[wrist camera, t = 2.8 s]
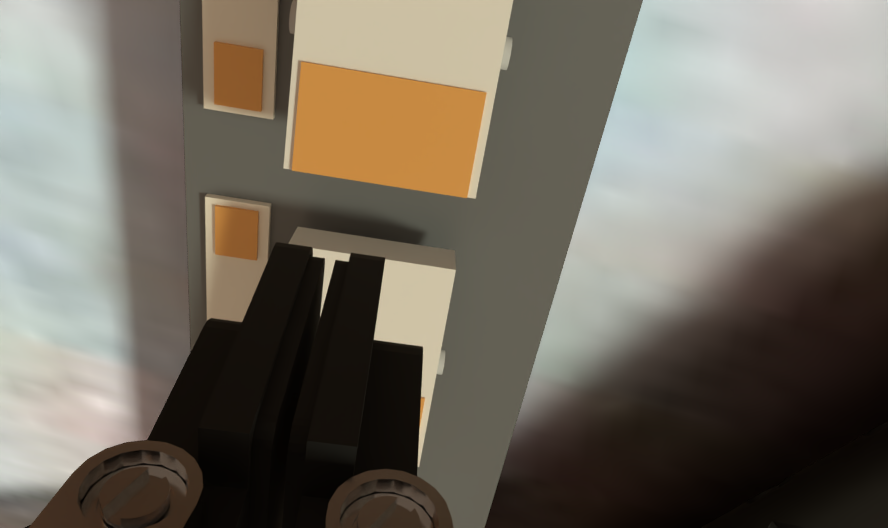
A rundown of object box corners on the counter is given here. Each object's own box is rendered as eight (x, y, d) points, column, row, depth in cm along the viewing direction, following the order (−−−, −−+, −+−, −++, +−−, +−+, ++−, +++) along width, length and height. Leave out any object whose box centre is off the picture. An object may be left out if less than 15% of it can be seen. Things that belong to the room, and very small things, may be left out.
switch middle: (290, 225, 20) (279, 244, 19) (462, 251, 20) (463, 272, 19) (273, 418, 22) (262, 448, 21) (426, 439, 23) (426, 469, 21)
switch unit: (214, -273, 17) (156, -292, 14) (663, -183, 18) (708, -182, 15) (218, 505, 32) (191, 583, 29) (463, 535, 33) (463, 615, 29)
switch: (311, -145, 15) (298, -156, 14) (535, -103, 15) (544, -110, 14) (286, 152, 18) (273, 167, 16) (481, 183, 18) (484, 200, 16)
